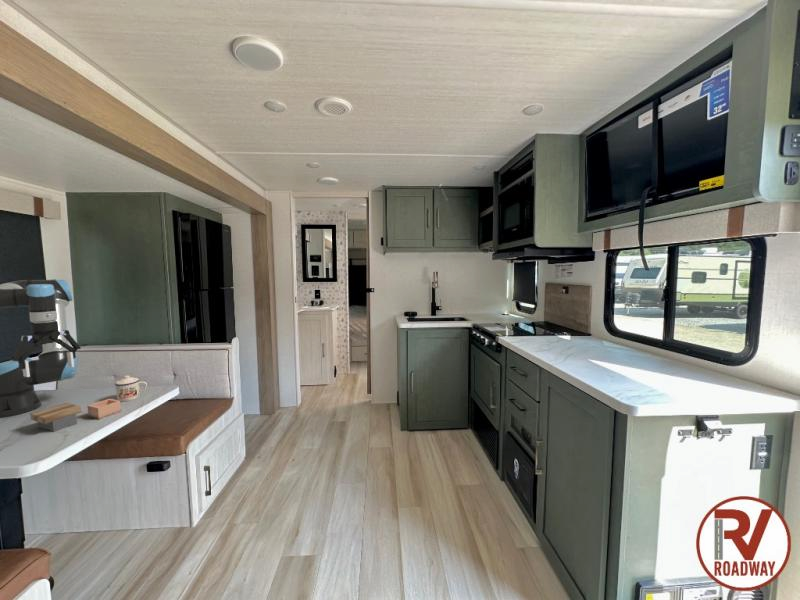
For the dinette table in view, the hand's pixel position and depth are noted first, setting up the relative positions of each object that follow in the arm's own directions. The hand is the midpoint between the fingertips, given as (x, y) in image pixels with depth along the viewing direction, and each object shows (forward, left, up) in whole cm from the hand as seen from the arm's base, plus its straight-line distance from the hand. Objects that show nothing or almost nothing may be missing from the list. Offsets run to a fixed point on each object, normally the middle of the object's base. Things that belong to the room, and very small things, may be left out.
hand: (50, 371), depth 133 cm
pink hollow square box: (+12, +11, -22) cm, 27 cm away
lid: (+6, -2, -18) cm, 19 cm away
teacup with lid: (+2, +27, -22) cm, 35 cm away
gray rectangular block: (+6, -2, -22) cm, 23 cm away
